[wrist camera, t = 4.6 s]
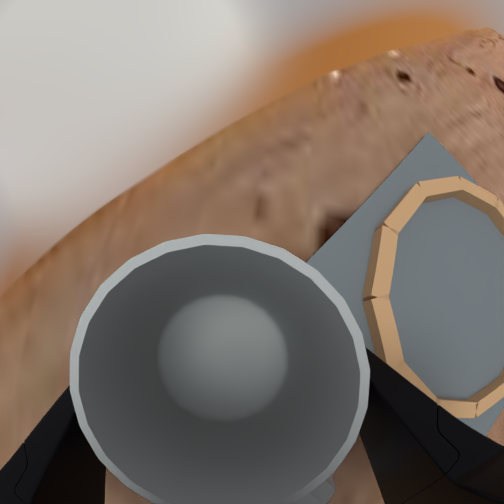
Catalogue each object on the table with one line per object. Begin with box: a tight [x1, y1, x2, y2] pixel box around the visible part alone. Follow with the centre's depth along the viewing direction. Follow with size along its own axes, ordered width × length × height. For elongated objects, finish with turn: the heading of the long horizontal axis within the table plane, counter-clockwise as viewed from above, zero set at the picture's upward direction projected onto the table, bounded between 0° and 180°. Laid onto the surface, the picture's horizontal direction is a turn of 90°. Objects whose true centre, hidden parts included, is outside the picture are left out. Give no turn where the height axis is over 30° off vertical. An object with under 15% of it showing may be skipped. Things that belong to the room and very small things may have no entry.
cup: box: [70, 234, 370, 504], centre depth 10 cm, size 7×10×9 cm
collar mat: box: [306, 132, 504, 436], centre depth 15 cm, size 18×16×2 cm
